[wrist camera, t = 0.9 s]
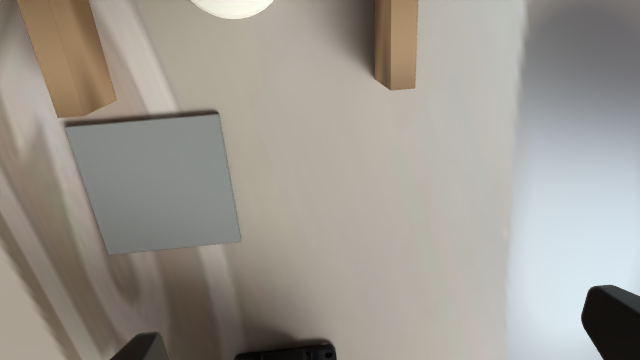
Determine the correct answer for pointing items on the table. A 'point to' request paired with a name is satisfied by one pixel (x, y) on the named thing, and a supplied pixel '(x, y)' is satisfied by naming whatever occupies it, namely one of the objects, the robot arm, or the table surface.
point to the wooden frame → (92, 73)
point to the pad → (157, 182)
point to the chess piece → (232, 7)
